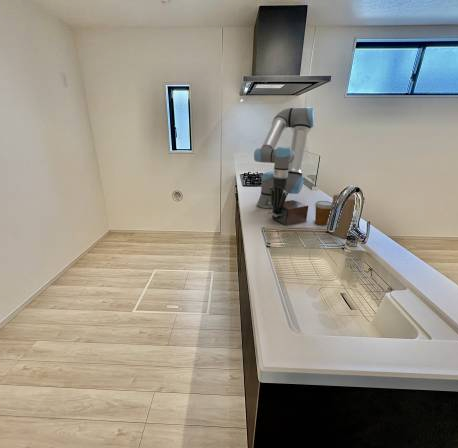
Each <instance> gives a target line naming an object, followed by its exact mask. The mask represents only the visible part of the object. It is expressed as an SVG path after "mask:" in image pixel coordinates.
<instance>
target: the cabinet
mask: <svg viewBox="0 0 458 448" xmlns="http://www.w3.org/2000/svg"><path fill="white" fill-rule="evenodd" d="M283 209H286V210H287V220H286V224H284V225H285V226H291V225H296V224H300V223H304V222H307V219H308V212H309V205H307V204H305V203H303V202H300V201H298V200H294V199H291V200H285V203H284V206H283Z"/></svg>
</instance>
